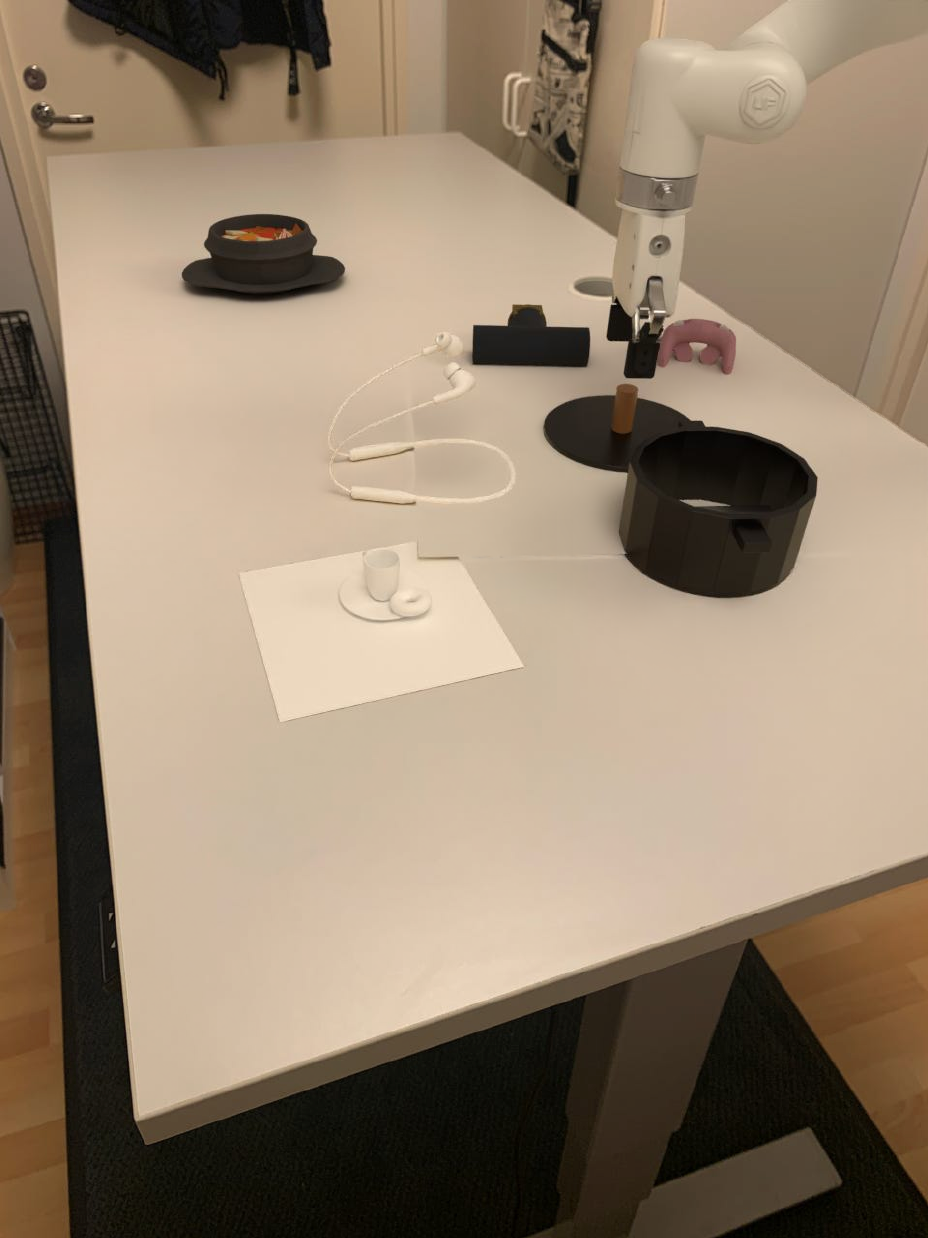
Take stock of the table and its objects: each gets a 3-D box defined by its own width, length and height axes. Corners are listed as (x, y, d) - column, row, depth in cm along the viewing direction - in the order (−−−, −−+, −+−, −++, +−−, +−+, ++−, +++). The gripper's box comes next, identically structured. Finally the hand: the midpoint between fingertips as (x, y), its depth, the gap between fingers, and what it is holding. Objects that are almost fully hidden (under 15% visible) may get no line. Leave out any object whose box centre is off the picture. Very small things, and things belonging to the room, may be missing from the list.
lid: (677, 403, 113) (685, 355, 109) (717, 476, 99) (728, 424, 95) (534, 404, 111) (538, 355, 108) (554, 478, 98) (560, 425, 94)
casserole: (343, 261, 151) (339, 207, 146) (349, 301, 137) (345, 243, 132) (188, 265, 148) (179, 211, 143) (178, 307, 134) (168, 248, 128)
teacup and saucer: (444, 619, 78) (444, 581, 76) (354, 637, 76) (351, 599, 74) (414, 563, 85) (413, 526, 82) (330, 578, 83) (327, 541, 80)
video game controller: (729, 378, 122) (739, 324, 121) (732, 376, 118) (743, 320, 116) (655, 370, 124) (664, 316, 122) (655, 367, 119) (665, 312, 118)
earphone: (312, 417, 99) (438, 308, 93) (412, 511, 108) (532, 417, 102) (312, 480, 88) (454, 362, 83) (422, 579, 98) (557, 479, 92)
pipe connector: (472, 298, 124) (582, 301, 124) (471, 336, 127) (578, 338, 128) (473, 333, 115) (591, 335, 116) (472, 372, 119) (586, 374, 119)
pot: (753, 486, 97) (772, 413, 92) (830, 614, 80) (859, 534, 75) (600, 488, 96) (610, 414, 91) (645, 618, 79) (661, 537, 74)
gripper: (718, 216, 82) (682, 393, 93) (672, 168, 95) (645, 328, 106) (636, 214, 81) (609, 392, 92) (601, 166, 95) (582, 327, 105)
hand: (629, 358), depth 99 cm, fingers open, 9 cm apart
